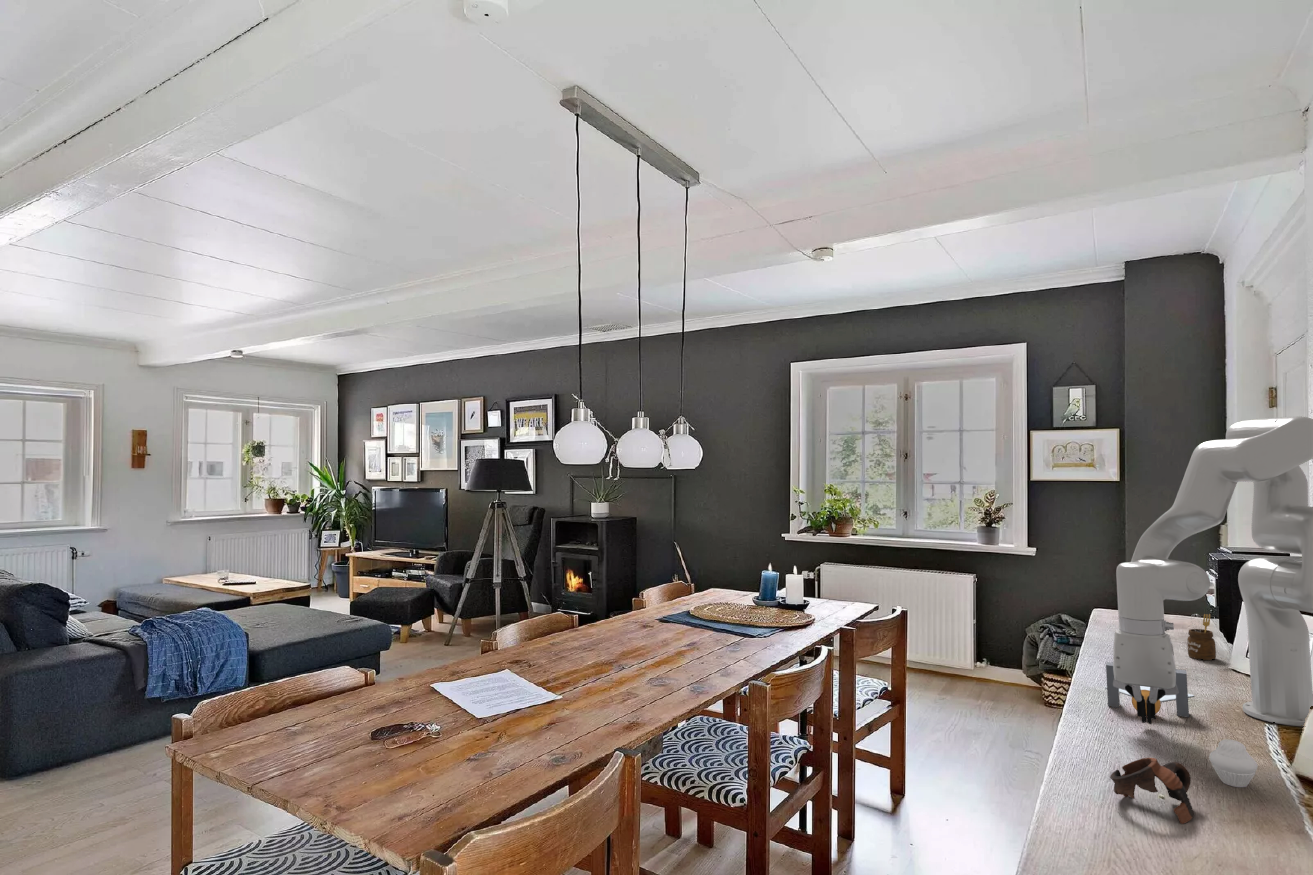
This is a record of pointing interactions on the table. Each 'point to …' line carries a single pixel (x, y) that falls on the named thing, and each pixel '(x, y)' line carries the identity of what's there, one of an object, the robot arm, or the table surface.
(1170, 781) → the broken clay pot
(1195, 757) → the table surface
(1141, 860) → the table surface
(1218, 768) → the muffin
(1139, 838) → the table surface
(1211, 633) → the utensil holder
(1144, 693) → the ball
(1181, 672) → the bridge
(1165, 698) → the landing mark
